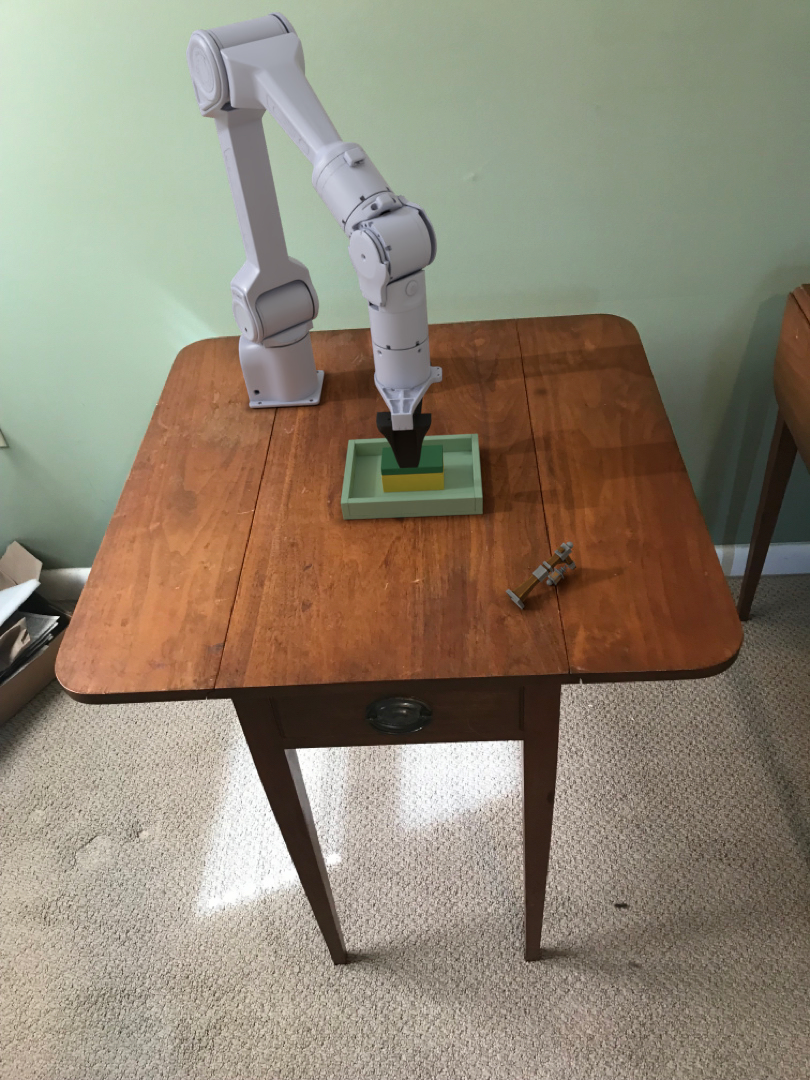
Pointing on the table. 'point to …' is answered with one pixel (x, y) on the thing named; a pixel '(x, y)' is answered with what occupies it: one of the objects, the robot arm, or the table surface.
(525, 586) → the wooden post with brackets
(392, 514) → the pan
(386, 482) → the sponge
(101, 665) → the table surface
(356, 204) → the robot arm
